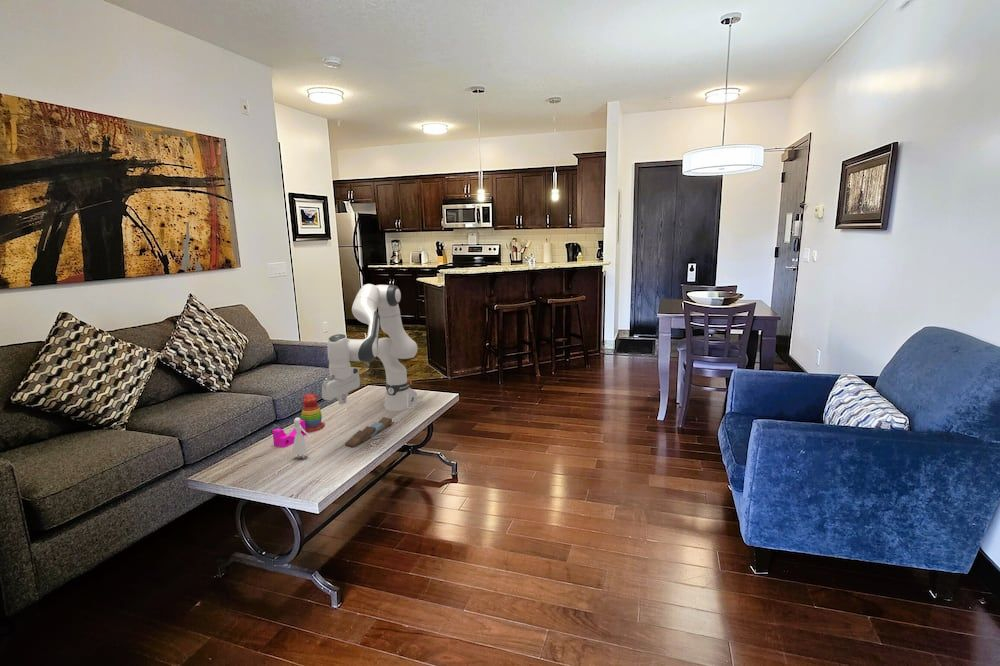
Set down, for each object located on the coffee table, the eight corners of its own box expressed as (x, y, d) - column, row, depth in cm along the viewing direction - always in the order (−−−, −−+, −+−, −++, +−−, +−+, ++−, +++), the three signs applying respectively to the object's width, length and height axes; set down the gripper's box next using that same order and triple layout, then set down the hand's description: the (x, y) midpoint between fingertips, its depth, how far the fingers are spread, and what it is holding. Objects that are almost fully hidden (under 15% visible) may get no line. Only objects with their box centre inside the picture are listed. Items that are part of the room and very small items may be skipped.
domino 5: (374, 431, 232) (386, 424, 241) (383, 432, 230) (395, 425, 239) (374, 428, 231) (386, 421, 241) (383, 429, 230) (394, 422, 239)
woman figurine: (316, 456, 202) (313, 416, 199) (310, 461, 198) (306, 420, 195) (292, 455, 204) (288, 415, 201) (285, 459, 200) (281, 418, 197)
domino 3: (362, 437, 223) (375, 424, 231) (371, 438, 221) (383, 426, 229) (361, 434, 222) (374, 422, 230) (370, 435, 220) (382, 423, 228)
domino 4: (371, 431, 229) (383, 419, 237) (380, 433, 227) (392, 421, 235) (371, 428, 228) (383, 417, 236) (379, 430, 226) (391, 418, 234)
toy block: (283, 448, 212) (282, 432, 210) (274, 446, 214) (272, 430, 213) (310, 436, 225) (308, 421, 224) (300, 434, 228) (299, 419, 226)
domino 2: (354, 441, 217) (367, 428, 226) (363, 443, 215) (376, 430, 224) (353, 438, 217) (367, 426, 225) (362, 440, 215) (375, 427, 223)
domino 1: (345, 446, 212) (360, 433, 220) (354, 448, 210) (368, 434, 218) (344, 443, 212) (359, 430, 220) (353, 445, 210) (367, 431, 218)
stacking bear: (325, 424, 240) (322, 390, 237) (323, 431, 230) (320, 396, 227) (302, 426, 237) (299, 392, 234) (299, 434, 228) (296, 398, 225)
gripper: (328, 379, 192) (331, 412, 195) (361, 367, 211) (363, 397, 214) (316, 378, 195) (319, 410, 197) (349, 366, 213) (352, 395, 216)
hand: (342, 403), depth 206 cm, fingers closed
